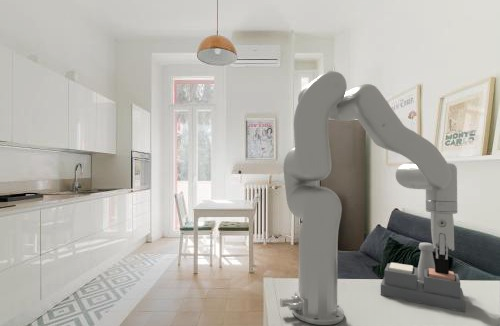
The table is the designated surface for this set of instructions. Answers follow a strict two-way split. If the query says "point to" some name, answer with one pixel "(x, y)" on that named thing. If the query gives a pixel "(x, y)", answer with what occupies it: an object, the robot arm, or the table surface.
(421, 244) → the salt shaker
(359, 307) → the table surface
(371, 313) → the table surface
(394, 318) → the table surface
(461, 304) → the key panel
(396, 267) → the ivory key
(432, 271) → the terracotta key
